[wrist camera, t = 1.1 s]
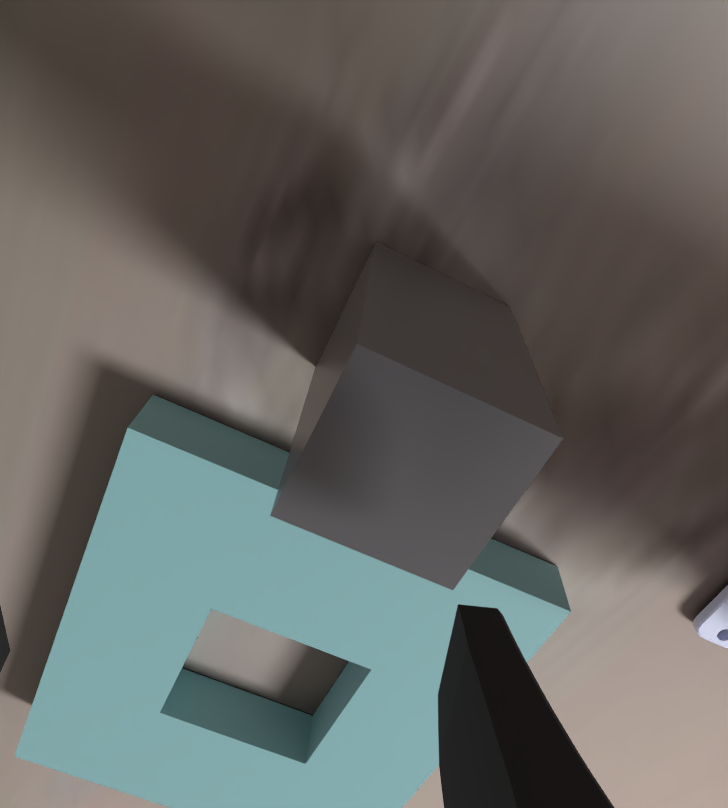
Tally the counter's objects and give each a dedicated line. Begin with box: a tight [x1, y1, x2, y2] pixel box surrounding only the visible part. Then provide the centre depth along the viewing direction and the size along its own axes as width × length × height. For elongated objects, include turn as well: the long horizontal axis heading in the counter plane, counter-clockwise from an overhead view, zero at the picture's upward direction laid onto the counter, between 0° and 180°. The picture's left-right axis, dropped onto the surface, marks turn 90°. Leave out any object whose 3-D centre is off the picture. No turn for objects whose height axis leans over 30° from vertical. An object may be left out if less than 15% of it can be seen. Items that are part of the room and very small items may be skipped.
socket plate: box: [15, 395, 571, 808], centre depth 23 cm, size 14×16×2 cm
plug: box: [270, 242, 563, 590], centre depth 15 cm, size 4×4×7 cm
